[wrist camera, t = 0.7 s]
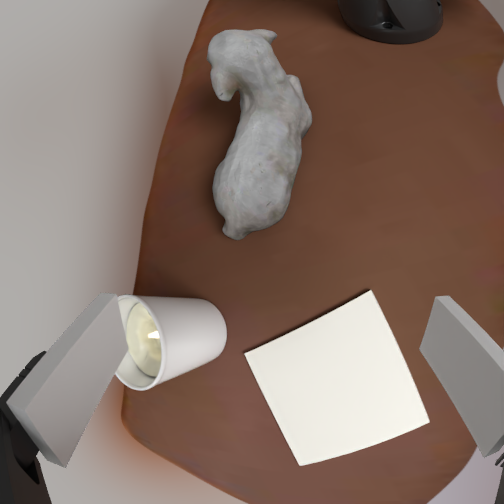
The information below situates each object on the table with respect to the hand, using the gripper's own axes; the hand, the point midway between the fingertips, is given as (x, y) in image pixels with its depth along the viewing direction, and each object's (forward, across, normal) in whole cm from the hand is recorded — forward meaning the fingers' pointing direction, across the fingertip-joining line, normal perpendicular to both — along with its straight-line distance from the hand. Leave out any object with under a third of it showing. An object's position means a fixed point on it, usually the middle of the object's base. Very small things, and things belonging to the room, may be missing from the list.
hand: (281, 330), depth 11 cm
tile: (+13, +8, -17) cm, 23 cm away
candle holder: (+23, -8, -16) cm, 29 cm away
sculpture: (+28, +1, +6) cm, 28 cm away
